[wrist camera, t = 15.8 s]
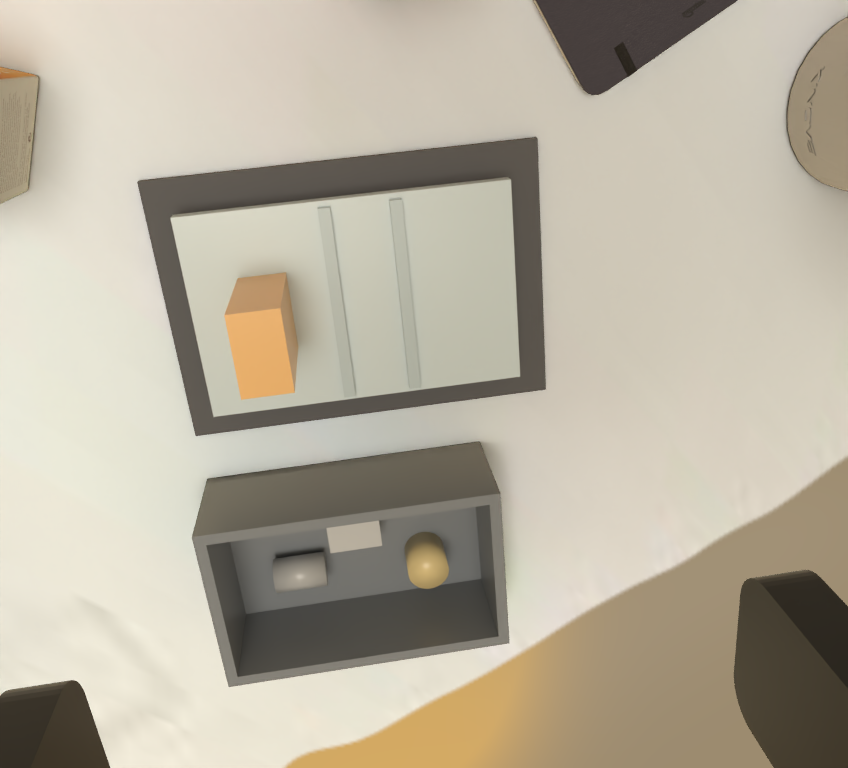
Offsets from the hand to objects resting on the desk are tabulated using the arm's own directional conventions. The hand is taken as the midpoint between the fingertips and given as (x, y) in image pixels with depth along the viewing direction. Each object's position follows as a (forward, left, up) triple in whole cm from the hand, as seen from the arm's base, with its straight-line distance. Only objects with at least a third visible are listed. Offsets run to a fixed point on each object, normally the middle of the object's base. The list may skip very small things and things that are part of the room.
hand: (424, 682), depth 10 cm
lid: (0, +5, -34) cm, 34 cm away
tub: (+2, +20, -34) cm, 40 cm away
